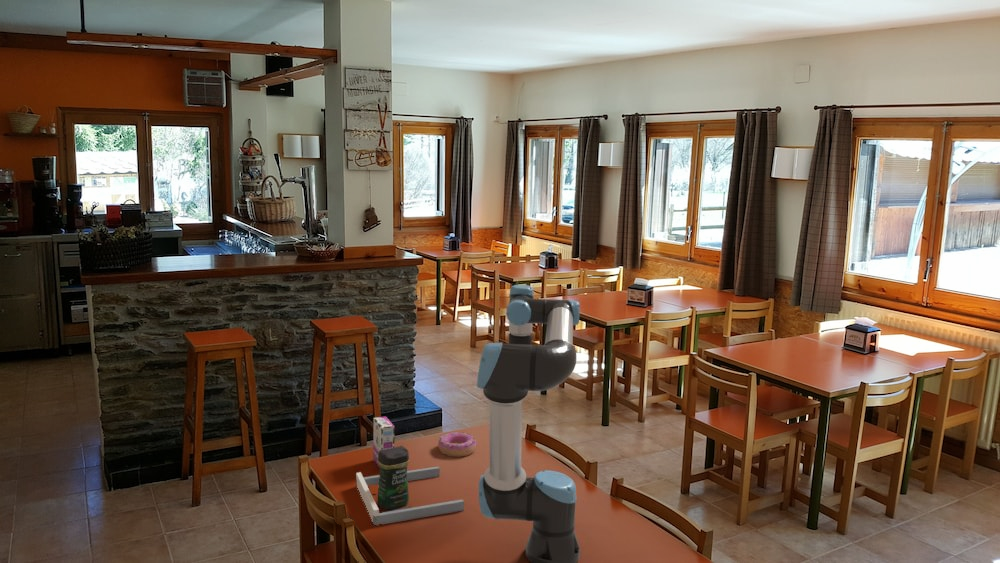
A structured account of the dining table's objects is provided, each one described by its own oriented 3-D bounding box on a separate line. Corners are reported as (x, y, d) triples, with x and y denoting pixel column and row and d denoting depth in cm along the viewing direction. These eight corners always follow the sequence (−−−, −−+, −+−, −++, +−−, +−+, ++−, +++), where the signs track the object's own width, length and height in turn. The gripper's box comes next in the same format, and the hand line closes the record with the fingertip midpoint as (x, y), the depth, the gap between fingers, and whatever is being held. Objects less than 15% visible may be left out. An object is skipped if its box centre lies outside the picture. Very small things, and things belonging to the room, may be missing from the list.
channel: (463, 510, 228) (464, 495, 227) (374, 525, 217) (373, 510, 216) (438, 474, 252) (438, 461, 251) (356, 486, 242) (356, 472, 241)
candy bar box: (395, 470, 255) (395, 426, 252) (381, 472, 252) (381, 428, 250) (386, 458, 265) (386, 415, 262) (372, 460, 262) (372, 417, 260)
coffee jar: (385, 512, 225) (385, 456, 222) (374, 502, 231) (373, 447, 228) (412, 504, 230) (413, 449, 227) (401, 494, 237) (401, 441, 233)
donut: (447, 461, 264) (448, 448, 263) (432, 447, 276) (432, 434, 275) (482, 454, 270) (483, 441, 270) (465, 440, 283) (466, 428, 282)
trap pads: (416, 516, 223) (416, 515, 223) (384, 521, 220) (384, 520, 220) (397, 482, 245) (397, 482, 245) (367, 487, 241) (367, 486, 241)
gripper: (550, 327, 241) (547, 388, 245) (480, 333, 231) (478, 396, 235) (560, 333, 234) (557, 395, 238) (488, 338, 225) (487, 404, 228)
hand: (518, 396), depth 236 cm, fingers open, 13 cm apart
